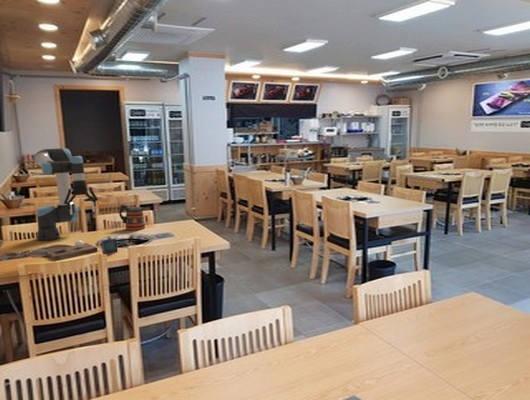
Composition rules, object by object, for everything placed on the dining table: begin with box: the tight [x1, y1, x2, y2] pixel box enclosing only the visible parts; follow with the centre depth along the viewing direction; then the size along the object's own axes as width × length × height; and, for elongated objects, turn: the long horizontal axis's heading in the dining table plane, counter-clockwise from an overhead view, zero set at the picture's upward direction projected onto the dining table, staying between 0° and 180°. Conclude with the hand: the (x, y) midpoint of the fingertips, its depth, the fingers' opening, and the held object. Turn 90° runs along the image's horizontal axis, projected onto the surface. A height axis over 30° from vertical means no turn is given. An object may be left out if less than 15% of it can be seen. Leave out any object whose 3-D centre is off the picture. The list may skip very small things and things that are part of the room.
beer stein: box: [118, 204, 146, 231], centre depth 325 cm, size 19×15×20 cm
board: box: [45, 242, 98, 261], centre depth 261 cm, size 16×26×2 cm, turn 136°
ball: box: [74, 239, 85, 248], centre depth 264 cm, size 5×5×5 cm
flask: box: [100, 235, 118, 254], centre depth 261 cm, size 9×3×11 cm, turn 117°
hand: (82, 213), depth 263 cm, fingers open, 13 cm apart
